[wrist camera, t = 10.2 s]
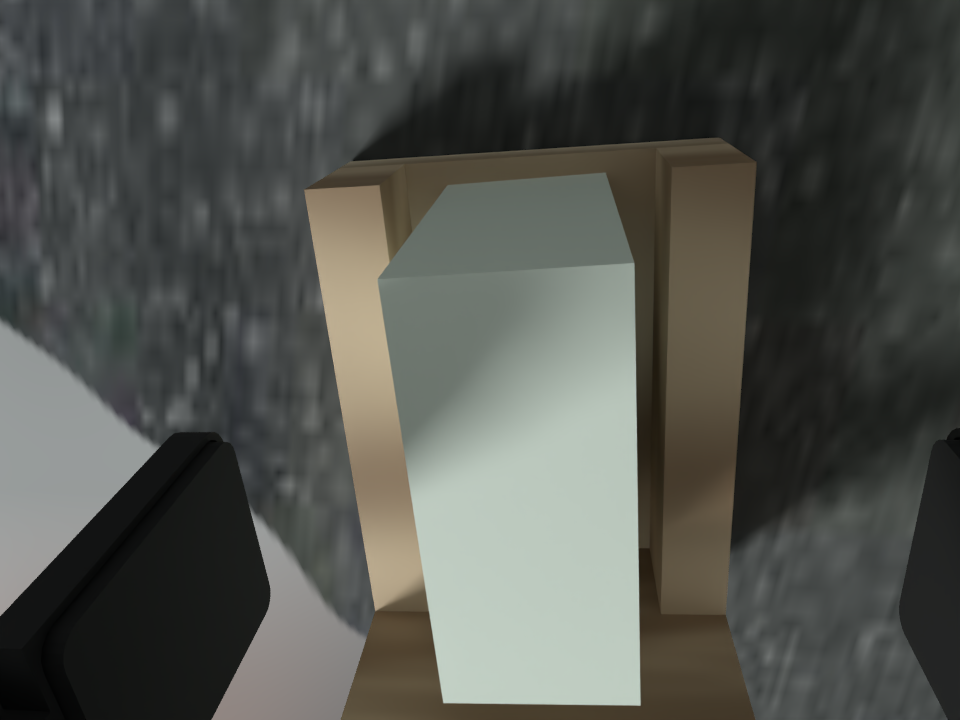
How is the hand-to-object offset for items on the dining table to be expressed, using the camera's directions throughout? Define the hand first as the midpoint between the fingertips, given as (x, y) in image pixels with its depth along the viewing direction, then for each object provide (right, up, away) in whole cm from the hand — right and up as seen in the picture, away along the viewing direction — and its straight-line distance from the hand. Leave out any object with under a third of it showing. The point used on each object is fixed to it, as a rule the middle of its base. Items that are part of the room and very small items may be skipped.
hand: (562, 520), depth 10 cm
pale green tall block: (0, +3, +8) cm, 8 cm away
